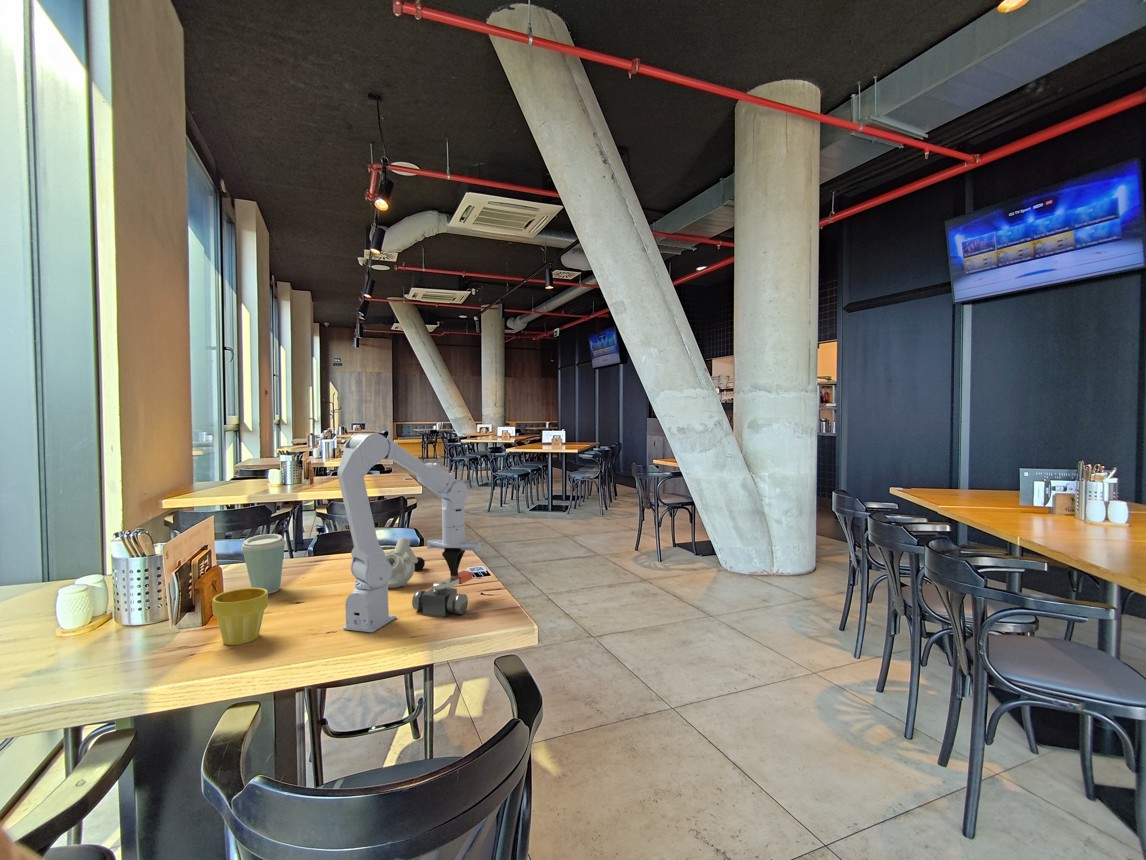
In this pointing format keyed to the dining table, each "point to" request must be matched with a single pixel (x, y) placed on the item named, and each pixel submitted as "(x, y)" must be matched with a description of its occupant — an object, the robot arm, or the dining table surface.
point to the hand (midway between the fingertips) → (454, 577)
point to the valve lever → (453, 581)
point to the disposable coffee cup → (264, 561)
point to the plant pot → (240, 614)
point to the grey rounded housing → (403, 563)
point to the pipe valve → (440, 602)
